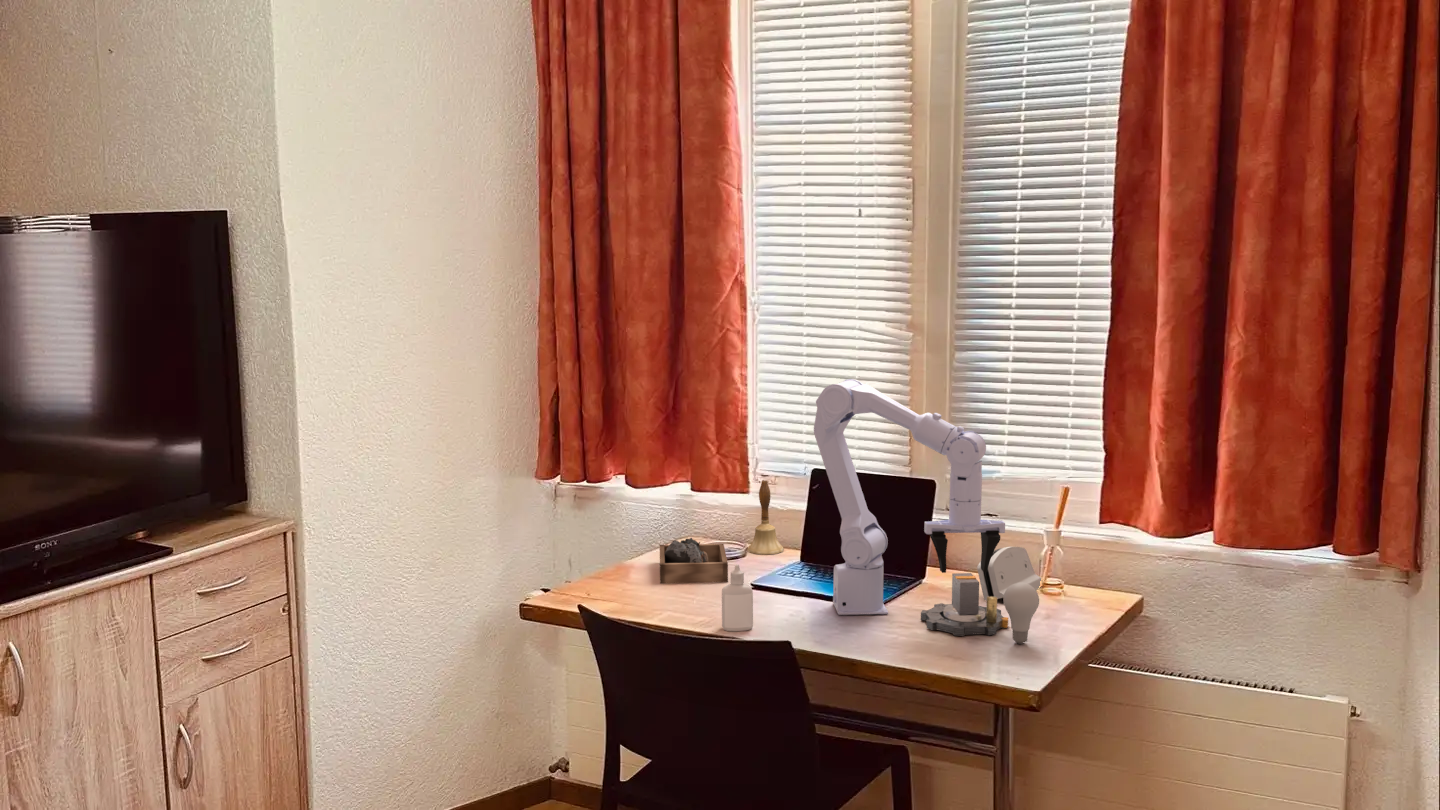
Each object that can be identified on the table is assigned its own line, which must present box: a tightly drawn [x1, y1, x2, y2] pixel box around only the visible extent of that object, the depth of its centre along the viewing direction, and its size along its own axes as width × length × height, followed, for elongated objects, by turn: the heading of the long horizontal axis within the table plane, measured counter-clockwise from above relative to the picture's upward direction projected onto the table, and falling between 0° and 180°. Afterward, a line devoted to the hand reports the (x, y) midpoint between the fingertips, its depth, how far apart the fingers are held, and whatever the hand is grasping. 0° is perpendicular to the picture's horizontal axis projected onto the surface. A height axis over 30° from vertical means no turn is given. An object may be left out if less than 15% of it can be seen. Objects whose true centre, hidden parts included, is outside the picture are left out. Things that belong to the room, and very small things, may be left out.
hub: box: [943, 603, 985, 623], centre depth 232 cm, size 8×8×3 cm
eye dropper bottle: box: [721, 563, 754, 632], centre depth 229 cm, size 4×6×12 cm
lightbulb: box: [1002, 583, 1040, 645], centre depth 220 cm, size 6×6×11 cm
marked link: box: [951, 572, 980, 615], centre depth 231 cm, size 4×6×6 cm, turn 3°
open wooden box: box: [659, 543, 729, 584], centre depth 267 cm, size 14×16×4 cm
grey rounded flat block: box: [976, 546, 1042, 602], centre depth 251 cm, size 17×5×10 cm, turn 141°
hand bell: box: [746, 480, 785, 556], centre depth 284 cm, size 8×8×16 cm
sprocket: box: [920, 596, 1009, 637], centre depth 231 cm, size 15×15×6 cm
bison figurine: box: [664, 537, 709, 563], centre depth 266 cm, size 12×7×10 cm
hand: (963, 571), depth 231 cm, fingers open, 7 cm apart
